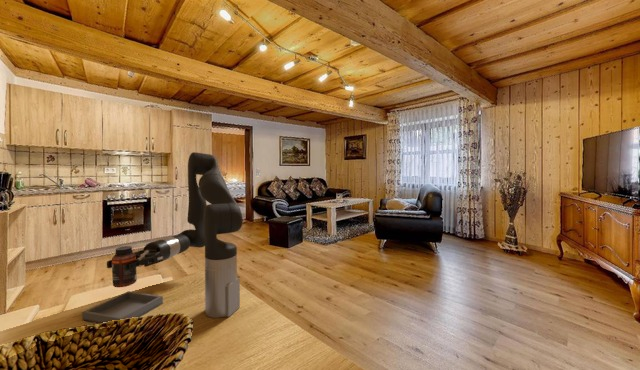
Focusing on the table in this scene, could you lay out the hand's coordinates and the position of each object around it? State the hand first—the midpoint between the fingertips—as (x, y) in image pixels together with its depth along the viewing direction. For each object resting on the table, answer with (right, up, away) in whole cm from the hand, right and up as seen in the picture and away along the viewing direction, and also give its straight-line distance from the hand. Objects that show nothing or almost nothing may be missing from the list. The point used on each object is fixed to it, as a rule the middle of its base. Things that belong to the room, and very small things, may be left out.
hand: (116, 266), depth 78 cm
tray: (+1, -15, +3) cm, 15 cm away
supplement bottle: (0, -7, +3) cm, 7 cm away
